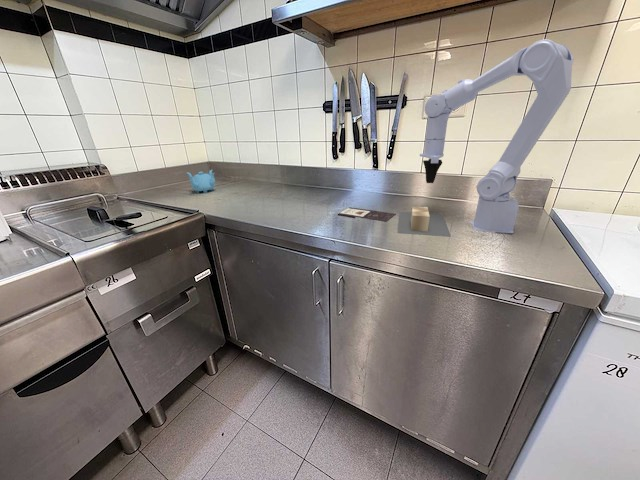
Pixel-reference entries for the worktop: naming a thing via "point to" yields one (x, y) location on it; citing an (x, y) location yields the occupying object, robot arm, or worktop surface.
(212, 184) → the teapot
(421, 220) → the birch block
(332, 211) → the worktop surface
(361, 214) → the chocolate bar
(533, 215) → the worktop surface
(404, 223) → the rubber mat
